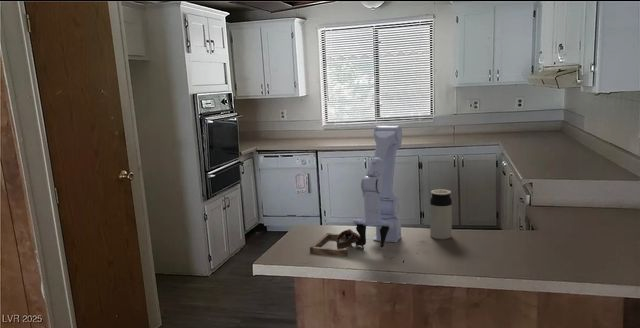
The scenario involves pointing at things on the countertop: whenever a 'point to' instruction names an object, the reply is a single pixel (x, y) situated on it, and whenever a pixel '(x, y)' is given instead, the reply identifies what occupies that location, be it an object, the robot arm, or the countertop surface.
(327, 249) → the bar
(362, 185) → the robot arm
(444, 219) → the travel mug
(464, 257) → the countertop surface
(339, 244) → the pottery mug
